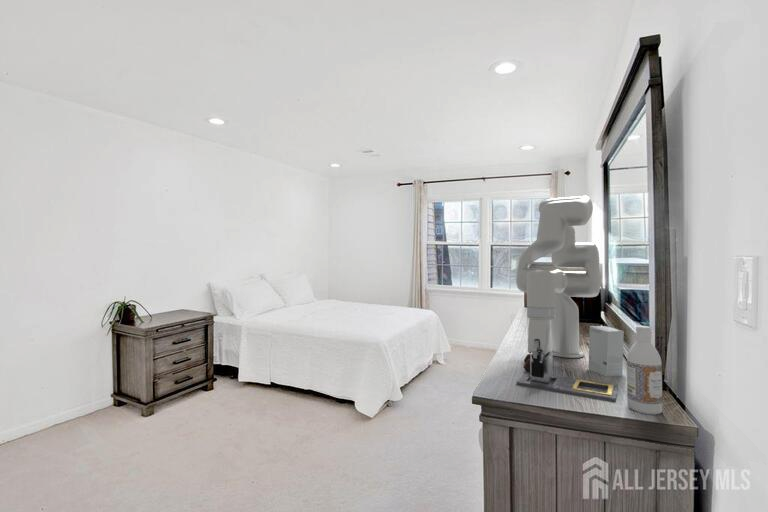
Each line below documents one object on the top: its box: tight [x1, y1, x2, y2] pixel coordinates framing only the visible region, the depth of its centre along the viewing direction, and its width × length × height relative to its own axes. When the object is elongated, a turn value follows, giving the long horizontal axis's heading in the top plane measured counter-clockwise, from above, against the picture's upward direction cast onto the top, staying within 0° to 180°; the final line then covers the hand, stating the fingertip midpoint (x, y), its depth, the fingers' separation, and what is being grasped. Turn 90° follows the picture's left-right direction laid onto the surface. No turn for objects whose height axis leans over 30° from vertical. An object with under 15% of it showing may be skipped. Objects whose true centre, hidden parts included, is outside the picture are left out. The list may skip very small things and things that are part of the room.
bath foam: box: [626, 325, 663, 416], centre depth 93 cm, size 7×7×20 cm
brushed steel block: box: [530, 353, 554, 385], centre depth 111 cm, size 5×5×8 cm
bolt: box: [523, 353, 532, 373], centre depth 127 cm, size 6×5×15 cm
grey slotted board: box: [515, 371, 619, 403], centre depth 107 cm, size 12×24×2 cm, turn 56°
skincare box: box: [587, 325, 625, 377], centre depth 120 cm, size 8×6×15 cm
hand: (541, 372), depth 110 cm, fingers open, 9 cm apart
